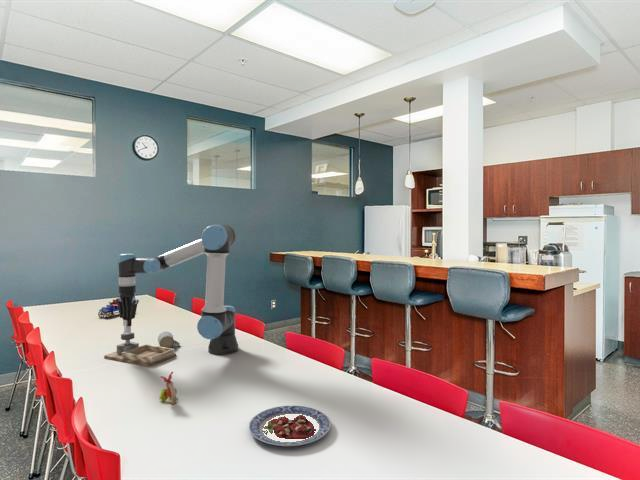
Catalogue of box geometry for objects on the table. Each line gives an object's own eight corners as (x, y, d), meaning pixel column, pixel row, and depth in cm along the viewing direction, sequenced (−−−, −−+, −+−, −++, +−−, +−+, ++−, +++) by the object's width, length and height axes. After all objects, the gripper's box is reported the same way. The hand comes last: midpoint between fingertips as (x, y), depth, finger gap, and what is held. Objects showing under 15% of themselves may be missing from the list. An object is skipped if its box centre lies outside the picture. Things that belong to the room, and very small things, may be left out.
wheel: (137, 345, 203) (137, 332, 203) (127, 348, 198) (127, 335, 197) (128, 343, 205) (128, 331, 205) (118, 347, 200) (118, 334, 200)
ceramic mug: (159, 350, 208) (159, 335, 208) (157, 346, 216) (157, 332, 215) (181, 348, 213) (181, 333, 213) (178, 344, 221) (178, 330, 220)
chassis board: (176, 355, 200) (176, 345, 200) (149, 366, 185) (149, 355, 185) (133, 348, 212) (132, 338, 212) (104, 358, 196) (104, 347, 196)
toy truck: (96, 318, 279) (96, 302, 278) (126, 311, 302) (126, 296, 302) (105, 319, 276) (105, 303, 275) (135, 312, 299) (134, 297, 299)
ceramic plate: (328, 411, 142) (328, 402, 142) (333, 452, 117) (333, 442, 117) (254, 411, 142) (254, 403, 142) (242, 453, 116) (242, 442, 116)
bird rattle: (182, 406, 149) (172, 390, 155) (186, 383, 145) (177, 366, 151) (165, 412, 145) (156, 394, 151) (169, 387, 141) (160, 371, 147)
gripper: (143, 285, 201) (143, 332, 202) (124, 283, 206) (124, 329, 207) (130, 287, 194) (130, 336, 195) (111, 285, 200) (111, 332, 200)
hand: (127, 332), depth 201 cm, fingers closed
